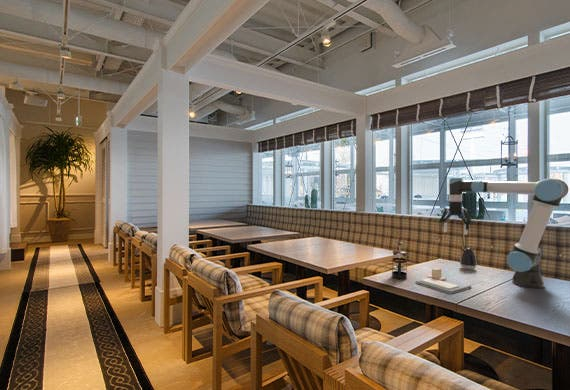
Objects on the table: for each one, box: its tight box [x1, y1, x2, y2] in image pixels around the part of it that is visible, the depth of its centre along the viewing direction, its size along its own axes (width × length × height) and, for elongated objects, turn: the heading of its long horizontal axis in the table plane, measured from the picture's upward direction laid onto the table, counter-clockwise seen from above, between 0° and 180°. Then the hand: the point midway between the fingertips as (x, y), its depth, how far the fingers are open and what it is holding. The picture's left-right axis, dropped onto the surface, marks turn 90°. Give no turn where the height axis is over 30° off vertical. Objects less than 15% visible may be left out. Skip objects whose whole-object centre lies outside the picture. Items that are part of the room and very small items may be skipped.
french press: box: [391, 241, 408, 281], centre depth 206 cm, size 12×9×23 cm
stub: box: [426, 267, 447, 281], centre depth 199 cm, size 9×6×6 cm, turn 31°
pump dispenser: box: [459, 247, 478, 271], centre depth 228 cm, size 10×10×15 cm
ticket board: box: [415, 277, 472, 295], centre depth 190 cm, size 22×20×2 cm
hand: (455, 233), depth 213 cm, fingers open, 13 cm apart
